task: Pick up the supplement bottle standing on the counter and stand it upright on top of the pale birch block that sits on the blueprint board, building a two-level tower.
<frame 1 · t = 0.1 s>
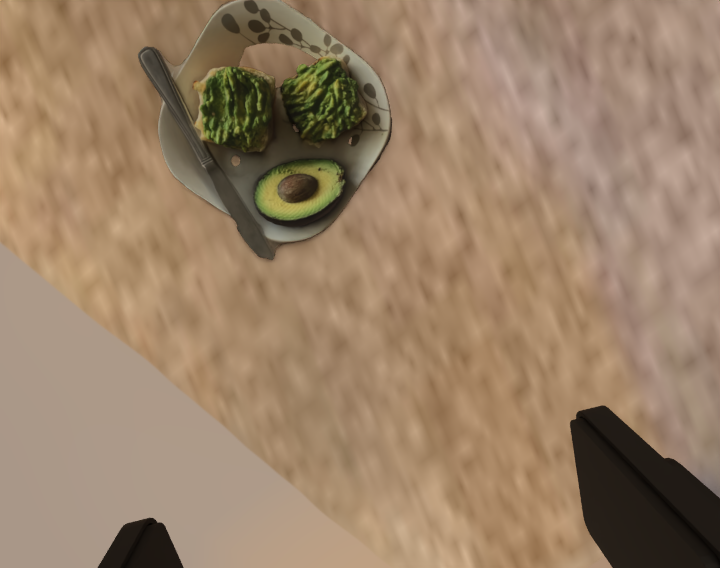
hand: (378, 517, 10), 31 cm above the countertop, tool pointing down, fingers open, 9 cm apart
salad plate: (279, 136, 38), on the countertop
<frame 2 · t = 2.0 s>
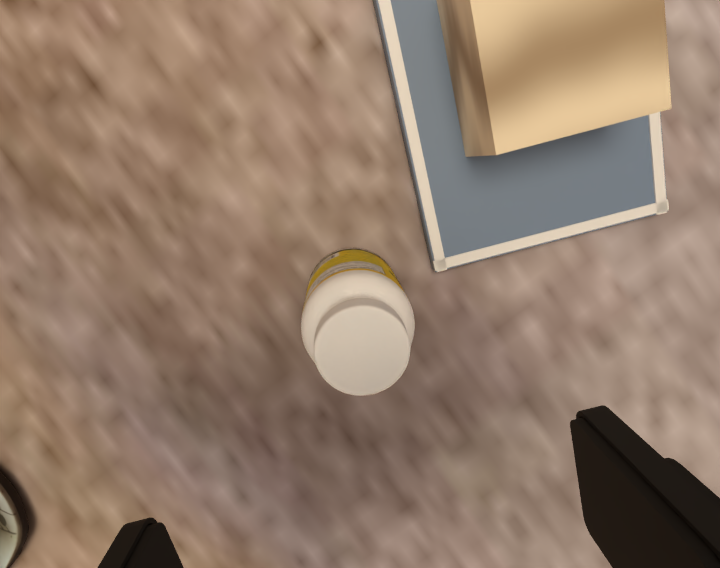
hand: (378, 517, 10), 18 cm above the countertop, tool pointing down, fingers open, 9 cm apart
blueprint board: (520, 84, 25), on the countertop
birch block: (524, 61, 24), point 1 cm above the countertop, touching blueprint board
supplement bottle: (352, 288, 28), on the countertop
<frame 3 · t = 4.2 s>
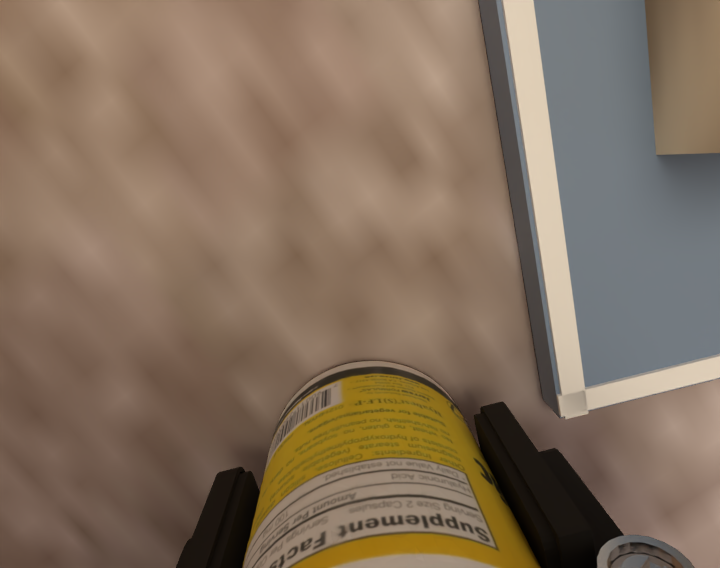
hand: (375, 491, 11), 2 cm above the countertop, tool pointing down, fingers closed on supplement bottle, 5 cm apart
supplement bottle: (370, 437, 13), on the countertop, touching gripper
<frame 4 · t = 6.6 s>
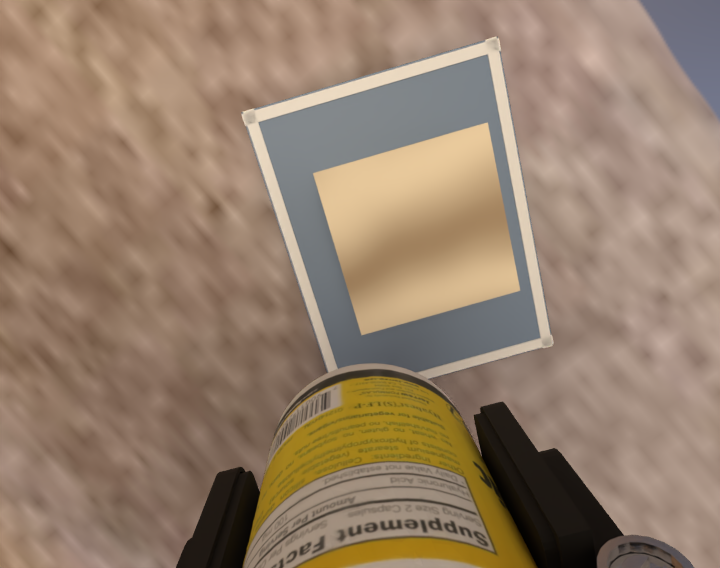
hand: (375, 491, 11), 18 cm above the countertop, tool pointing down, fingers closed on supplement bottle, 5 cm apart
blueprint board: (407, 235, 27), on the countertop
birch block: (405, 221, 26), point 1 cm above the countertop, touching blueprint board
supplement bottle: (370, 439, 13), point 15 cm above the countertop, touching gripper
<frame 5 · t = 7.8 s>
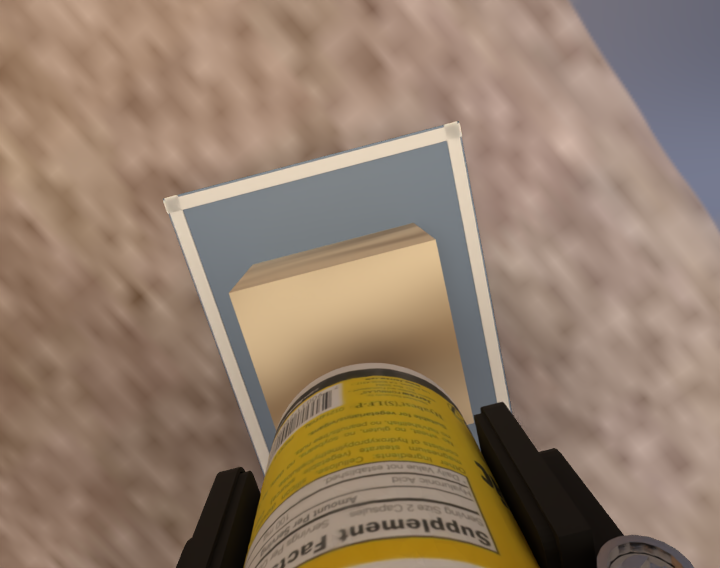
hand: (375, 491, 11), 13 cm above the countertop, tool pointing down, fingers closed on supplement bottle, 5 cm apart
blueprint board: (357, 330, 24), on the countertop
birch block: (353, 319, 23), point 1 cm above the countertop, touching blueprint board
supplement bottle: (371, 439, 13), point 11 cm above the countertop, touching gripper
when the fingers open (9 cm above the countertop, at t = 8.9 s): supplement bottle drops 1 cm, resting on birch block.
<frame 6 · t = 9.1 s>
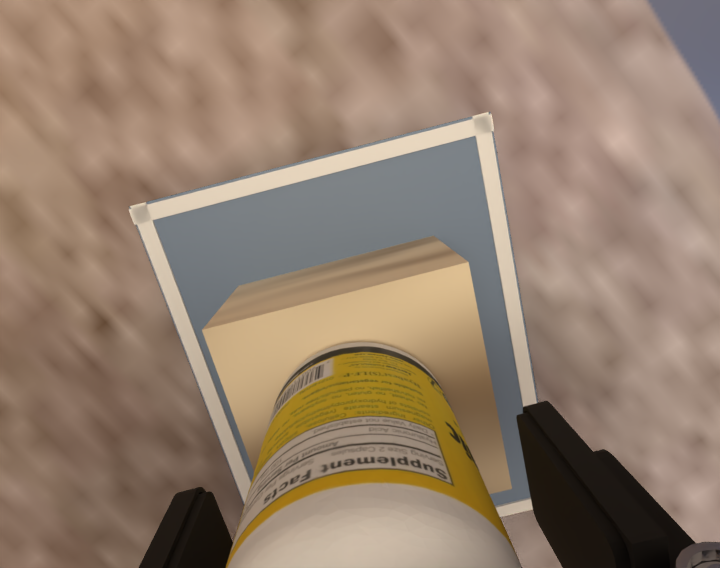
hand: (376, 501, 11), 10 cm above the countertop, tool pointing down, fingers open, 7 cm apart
blueprint board: (364, 362, 20), on the countertop
birch block: (360, 351, 19), point 1 cm above the countertop, touching blueprint board, supplement bottle
supplement bottle: (362, 413, 14), point 6 cm above the countertop, touching birch block
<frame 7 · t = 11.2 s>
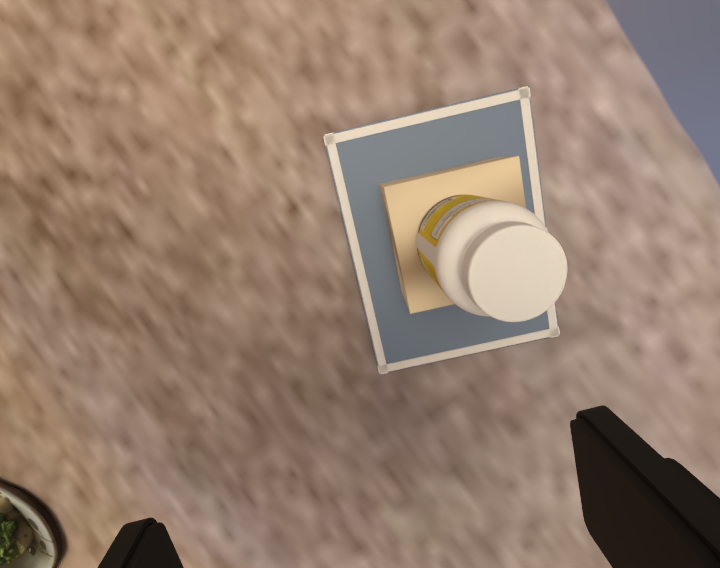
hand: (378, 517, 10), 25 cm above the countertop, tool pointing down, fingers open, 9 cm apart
blueprint board: (445, 239, 33), on the countertop
birch block: (445, 227, 32), point 1 cm above the countertop, touching blueprint board, supplement bottle
supplement bottle: (458, 238, 27), point 6 cm above the countertop, touching birch block
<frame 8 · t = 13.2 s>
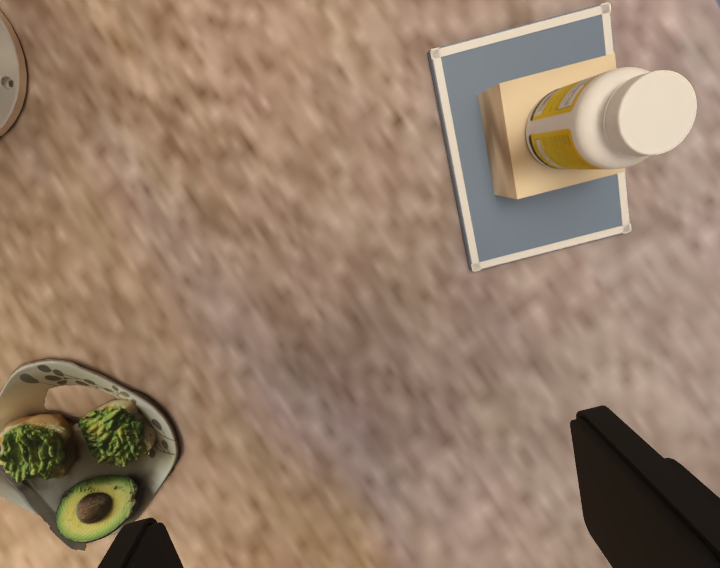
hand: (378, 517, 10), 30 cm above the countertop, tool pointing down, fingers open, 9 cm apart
blueprint board: (531, 146, 38), on the countertop
birch block: (534, 133, 36), point 1 cm above the countertop, touching blueprint board, supplement bottle
supplement bottle: (560, 129, 32), point 6 cm above the countertop, touching birch block
salad plate: (88, 447, 44), on the countertop
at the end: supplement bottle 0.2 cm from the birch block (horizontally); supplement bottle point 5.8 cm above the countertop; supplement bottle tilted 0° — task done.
